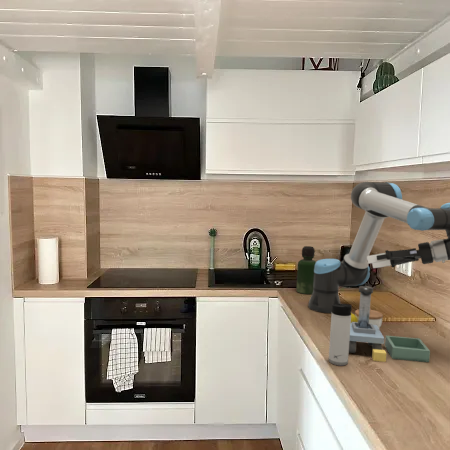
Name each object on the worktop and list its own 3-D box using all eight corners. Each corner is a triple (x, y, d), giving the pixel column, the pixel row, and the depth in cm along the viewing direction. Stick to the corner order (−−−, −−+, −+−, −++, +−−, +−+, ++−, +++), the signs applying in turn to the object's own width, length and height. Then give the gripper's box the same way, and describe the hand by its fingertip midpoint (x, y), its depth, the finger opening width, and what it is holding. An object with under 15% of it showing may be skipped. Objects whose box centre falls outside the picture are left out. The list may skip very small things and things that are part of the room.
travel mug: (337, 367, 138) (341, 307, 136) (324, 359, 144) (328, 301, 142) (352, 364, 140) (356, 305, 138) (339, 357, 146) (343, 300, 144)
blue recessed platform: (342, 340, 162) (344, 318, 162) (375, 343, 161) (377, 321, 160) (346, 354, 149) (348, 330, 148) (382, 358, 147) (384, 334, 146)
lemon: (346, 328, 175) (347, 309, 175) (359, 332, 172) (360, 312, 171) (340, 332, 171) (341, 312, 170) (353, 335, 168) (354, 315, 167)
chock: (371, 357, 147) (372, 348, 147) (384, 358, 146) (384, 350, 146) (373, 360, 144) (374, 352, 144) (385, 362, 143) (386, 353, 143)
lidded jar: (386, 335, 169) (388, 312, 168) (361, 336, 167) (363, 313, 166) (373, 326, 180) (374, 304, 179) (349, 327, 178) (350, 305, 177)
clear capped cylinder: (355, 327, 157) (358, 285, 155) (368, 328, 156) (371, 286, 154) (357, 331, 152) (360, 288, 150) (371, 332, 151) (374, 289, 150)
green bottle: (303, 295, 226) (306, 248, 224) (292, 290, 236) (295, 245, 233) (319, 293, 230) (322, 248, 228) (308, 289, 240) (310, 245, 237)
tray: (384, 345, 158) (385, 335, 158) (419, 349, 156) (419, 338, 156) (392, 358, 146) (392, 347, 146) (429, 362, 144) (430, 351, 144)
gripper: (434, 257, 139) (367, 268, 147) (434, 266, 160) (376, 276, 169) (428, 235, 141) (363, 247, 149) (430, 247, 163) (372, 257, 171)
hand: (370, 262), depth 159 cm, fingers open, 13 cm apart
